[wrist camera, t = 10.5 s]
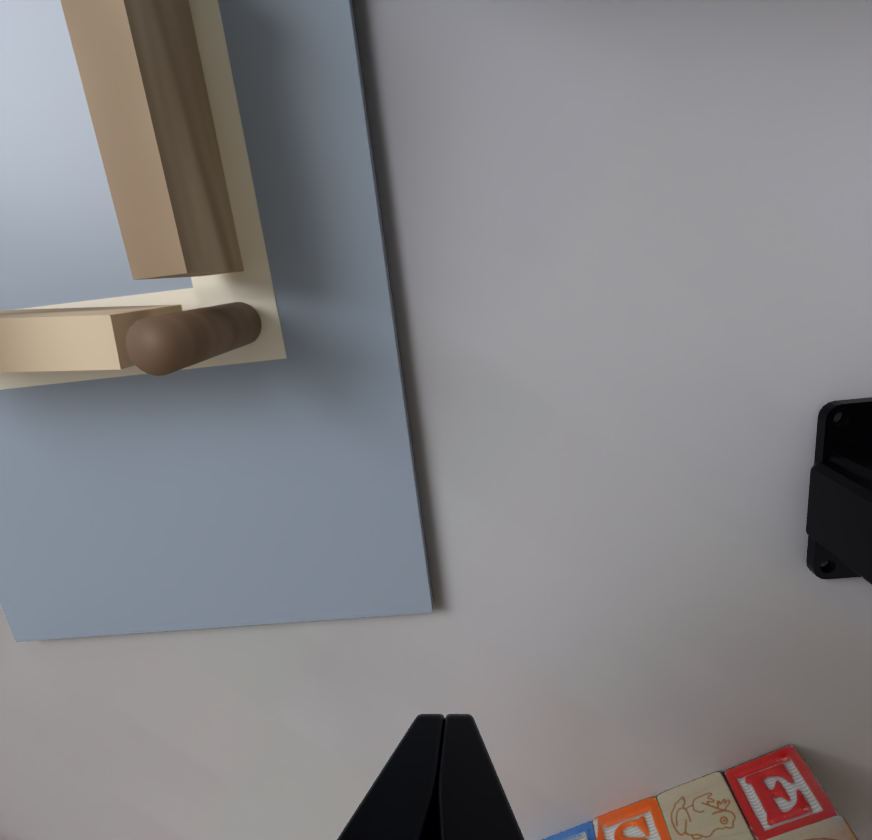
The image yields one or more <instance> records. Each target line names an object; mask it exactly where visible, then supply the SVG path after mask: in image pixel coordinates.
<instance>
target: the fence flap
mask: <svg viewBox="0 0 872 840" xmlns="http://www.w3.org/2000/svg"><path fill="white" fill-rule="evenodd" d="M180 311H182V306H181V305H150V306H117V307H85V308H52V309H20V310H0V372H40V371H82V370H121V369H124V368H127V367H131V366H134V365H135V364H134V363H133V362H132V360H131V359H130V357H129V355H128V353H127V349H126V335H127V332H128V330H129V328H130V326H131V325H132V324H133V323H134V322H136V321H137V320H139V319H141V318H145V317H151V316H157V315H162V314H168V313H174V312H180Z"/></svg>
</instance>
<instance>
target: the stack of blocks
mask: <svg viewBox="0 0 872 840" xmlns="http://www.w3.org/2000/svg"><path fill="white" fill-rule="evenodd" d="M543 840H858V839H857V837H856V836H855V834H854V833H853V831H852V830H851V828H850V826H849V825H848V823H847V822H846V820H845V819H844V818H843V817H841V816H840V815H839V813H838V811H837V810H836V808H835V806H834V805H833V803H832V802H831V800H830V799H829V797H828V795H827V794H826V792H825V791H824V789H823V788H822V786H821V784H820V783H819V781H818V780H817V778H816V777H815V775H814V774H813V772H812V771H811V769H810V768H809V766H808V765H807V763H806V762H805V761H804V759H803V758H802V756H801V755H800V754H799V752H798V751H797V749H796V748H795V747H794V746H793V745H790V746H786V747H784V748H781V749H779V750H776V751H774V752H771V753H769V754H766V755H764V756H761V757H759V758H756V759H754V760H751V761H749V762H746V763H744V764H741V765H739V766H737V767H734V768H731V769H728V770H727V771H726V772H725V773H721V772H715V773H712V774H709V775H706V776H704V777H701V778H699V779H696V780H694V781H691V782H688V783H685V784H683V785H680V786H678V787H675V788H673V789H670V790H668V791H665V792H663V793H661V794H659V795H658V796H657V797H650V798H647V799H644V800H641V801H639V802H636V803H633V804H631V805H628V806H626V807H623V808H620V809H618V810H615V811H612V812H609V813H607V814H605V815H602V816H599V817H596V818H595V819H594V820H593V822H587V823H584V824H581V825H579V826H576V827H574V828H572V829H569V830H566V831H564V832H561V833H559V834H556V835H553V836H551V837H548V838H546V839H543Z"/></svg>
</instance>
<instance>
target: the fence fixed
mask: <svg viewBox="0 0 872 840" xmlns="http://www.w3.org/2000/svg"><path fill="white" fill-rule="evenodd" d="M60 1H61V5H62V8H63V12H64V16H65V20H66V24H67V28H68V31H69V35H70V39H71V43H72V47H73V51H74V54H75V58H76V62H77V66H78V70H79V74H80V77H81V81H82V85H83V89H84V93H85V97H86V101H87V104H88V108H89V112H90V116H91V120H92V124H93V127H94V131H95V135H96V139H97V143H98V147H99V150H100V154H101V158H102V162H103V166H104V170H105V173H106V177H107V181H108V185H109V189H110V193H111V196H112V200H113V204H114V208H115V212H116V216H117V219H118V223H119V227H120V231H121V235H122V239H123V242H124V246H125V250H126V254H127V258H128V262H129V265H130V269H131V273H132V277H133V280H141V279H161V278H180V277H200V276H208V275H217V274H225V273H233V272H241V271H244V268H243V263H242V258H241V253H240V248H239V243H238V238H237V234H236V229H235V224H234V219H233V214H232V209H231V204H230V200H229V195H228V190H227V185H226V180H225V175H224V170H223V166H222V161H221V156H220V151H219V146H218V141H217V136H216V131H215V127H214V122H213V117H212V112H211V107H210V102H209V97H208V93H207V88H206V83H205V78H204V73H203V68H202V63H201V59H200V54H199V49H198V44H197V39H196V34H195V29H194V24H193V20H192V15H191V10H190V5H189V0H60ZM261 327H262V326H261V319H260V316H259V314H258V313H257V311H256V310H255V309H254V308H253V307H252V306H250V305H249V304H247V303H244V302H233V303H227V304H221V305H215V306H209V307H203V308H197V309H192V310H186V311H180V312H174V313H168V314H162V315H157V316H151V317H145V318H141V319H139V320H137V321H136V322H134V323H133V324H132V325H131V326H130V328H129V330H128V332H127V335H126V349H127V353H128V355H129V357H130V359H131V360H132V362H133V363H134V364H135V365H136V366H137V367H138V368H139V369H140V370H142V371H143V372H145V373H147V374H150V375H154V376H163V375H167V374H170V373H173V372H176V371H178V370H181V369H183V368H186V367H189V366H191V365H194V364H197V363H199V362H202V361H205V360H207V359H210V358H213V357H215V356H218V355H221V354H223V353H226V352H229V351H231V350H234V349H237V348H239V347H242V346H245V345H247V344H250V343H252V342H254V341H255V340H256V339H257V338H258V336H259V335H260V332H261Z"/></svg>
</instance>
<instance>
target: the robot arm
mask: <svg viewBox="0 0 872 840" xmlns="http://www.w3.org/2000/svg"><path fill="white" fill-rule="evenodd" d="M838 412H841V413H842V415H841V418H840V419H839V420H838V421H837V422H834V420H833V419H834V416H835V415H836V414H837V413H838ZM806 532H807V534H808V535H809V537H808V549H807V567H808V568H809V569H810V571H812V572H813V573H814V574H815V575H816V576H817V577H819V578H821V579H836V578H850V577H863V578H864V579H865V580H866V581H868V582H869V583H870V584H872V397H871V398H861V399H850V400H840V401H833V402H829V403H827V404H826V405H825V406H823V407H822V409H821V410H820V412H819V415H818V423H817V436H816V448H815V461H814V465H813V467H812V469H811V473H810V486H809V499H808V512H807V525H806ZM825 561H828V563H827V564H826V565H825V566H823V567H821V565H822V563H824V562H825ZM337 840H524V838H523V835H522V833H521V830H520V828H519V826H518V823H517V821H516V818H515V816H514V814H513V811H512V809H511V807H510V804H509V802H508V799H507V797H506V795H505V792H504V790H503V787H502V785H501V783H500V780H499V778H498V776H497V773H496V771H495V768H494V766H493V764H492V761H491V759H490V756H489V754H488V752H487V749H486V747H485V745H484V742H483V740H482V737H481V735H480V733H479V730H478V728H477V725H476V723H475V721H474V718H473V717H472V716H471V715H470V714H448V715H447V716H446V718H444V716H443V715H442V714H420V715H418V716H417V717H416V719H415V720H414V722H413V723H412V725H411V726H410V728H409V729H408V731H407V732H406V734H405V736H404V737H403V739H402V740H401V742H400V743H399V745H398V746H397V748H396V749H395V751H394V753H393V754H392V756H391V757H390V759H389V760H388V762H387V763H386V765H385V766H384V768H383V770H382V771H381V773H380V774H379V776H378V777H377V779H376V780H375V782H374V783H373V785H372V787H371V788H370V790H369V791H368V793H367V794H366V796H365V797H364V799H363V800H362V802H361V804H360V805H359V807H358V808H357V810H356V811H355V813H354V814H353V816H352V817H351V819H350V821H349V822H348V824H347V825H346V827H345V828H344V830H343V831H342V833H341V835H340V836H339V838H338V839H337Z"/></svg>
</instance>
